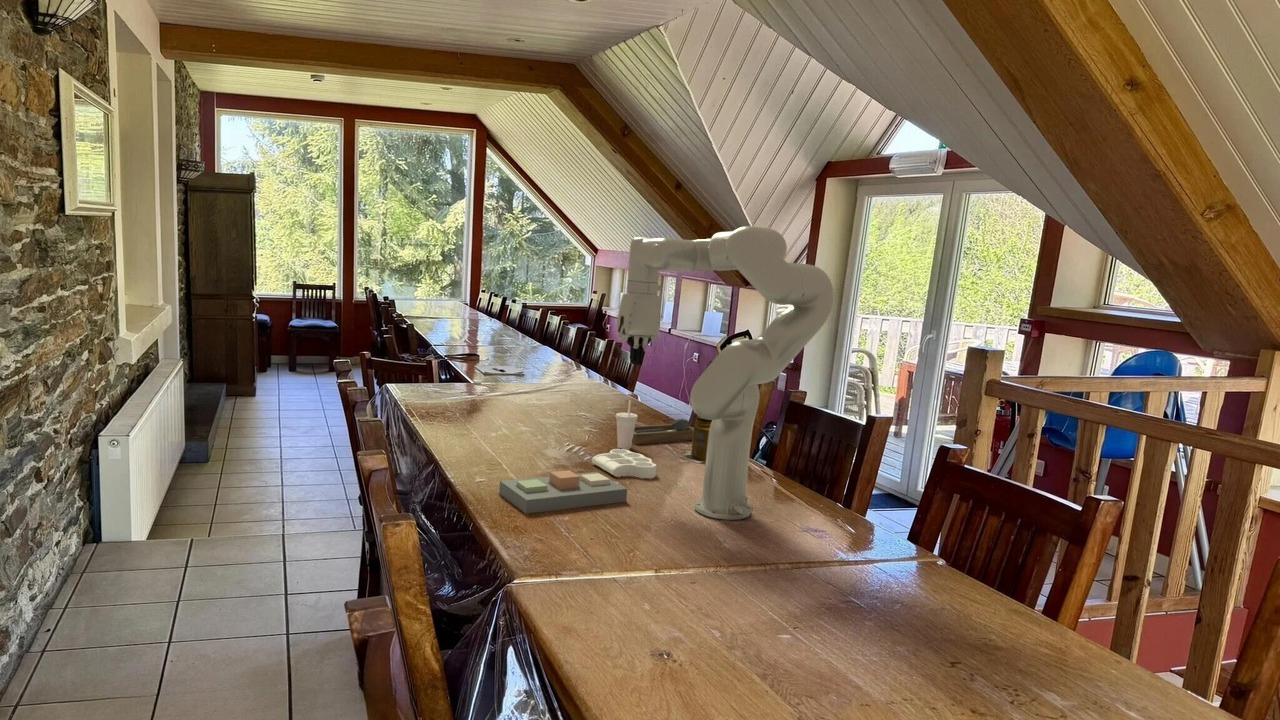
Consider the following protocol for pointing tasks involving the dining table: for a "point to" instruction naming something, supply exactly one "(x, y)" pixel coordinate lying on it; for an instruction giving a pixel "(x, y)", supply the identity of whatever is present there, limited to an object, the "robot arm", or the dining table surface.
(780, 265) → the robot arm
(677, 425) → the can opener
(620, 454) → the white paint palette
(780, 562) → the dining table surface
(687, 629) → the dining table surface
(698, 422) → the condiment
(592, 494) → the button panel
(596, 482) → the cream button
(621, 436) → the smoothie
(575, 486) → the terracotta button
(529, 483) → the sage button
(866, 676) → the dining table surface
